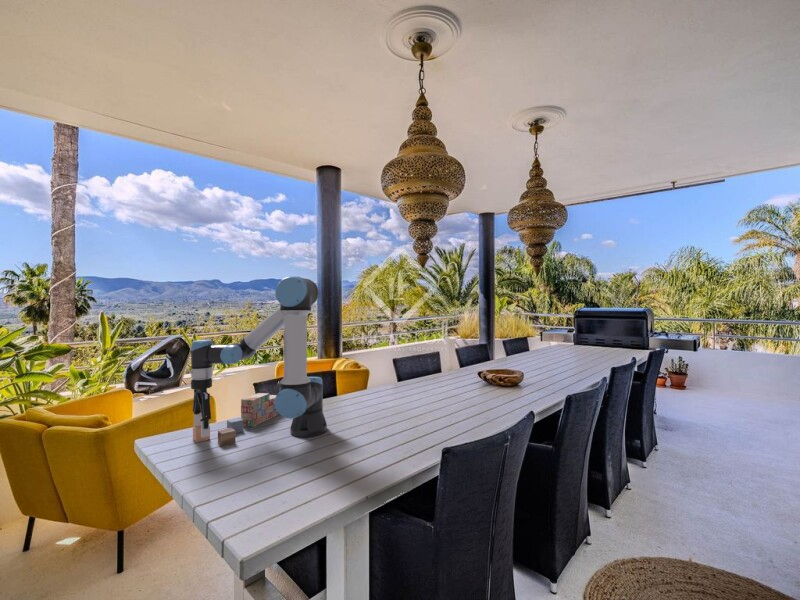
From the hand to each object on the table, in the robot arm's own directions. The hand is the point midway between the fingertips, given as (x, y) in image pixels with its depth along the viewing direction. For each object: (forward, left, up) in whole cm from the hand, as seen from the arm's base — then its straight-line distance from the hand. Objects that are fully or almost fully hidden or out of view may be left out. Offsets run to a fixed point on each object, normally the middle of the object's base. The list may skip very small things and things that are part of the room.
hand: (201, 433), depth 145 cm
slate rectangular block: (0, -13, -2) cm, 13 cm away
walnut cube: (-12, -6, -2) cm, 14 cm away
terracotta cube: (0, 0, -2) cm, 2 cm away
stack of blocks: (+9, -28, -3) cm, 29 cm away
